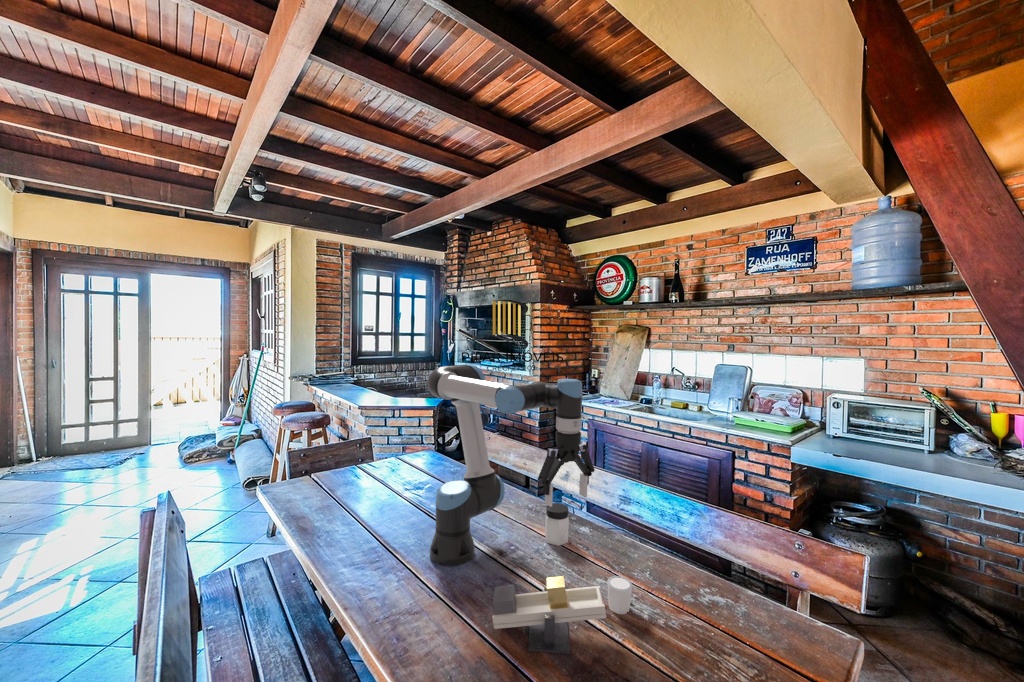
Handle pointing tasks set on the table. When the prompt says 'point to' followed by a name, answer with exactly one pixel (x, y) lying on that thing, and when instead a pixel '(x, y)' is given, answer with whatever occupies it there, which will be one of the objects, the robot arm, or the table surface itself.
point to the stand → (549, 636)
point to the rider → (557, 592)
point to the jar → (557, 524)
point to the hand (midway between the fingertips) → (566, 500)
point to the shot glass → (619, 594)
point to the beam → (544, 607)
